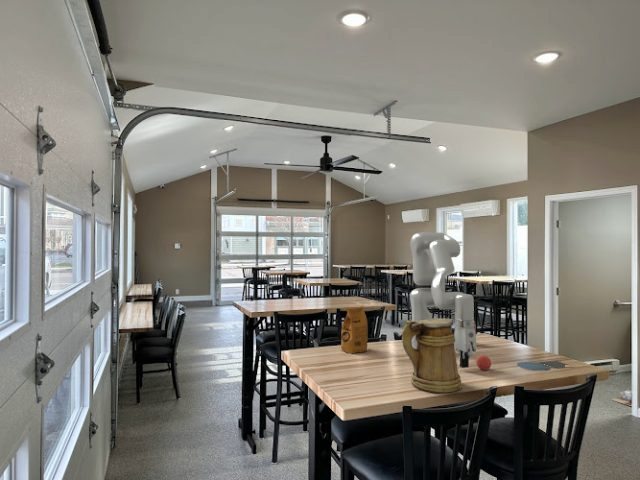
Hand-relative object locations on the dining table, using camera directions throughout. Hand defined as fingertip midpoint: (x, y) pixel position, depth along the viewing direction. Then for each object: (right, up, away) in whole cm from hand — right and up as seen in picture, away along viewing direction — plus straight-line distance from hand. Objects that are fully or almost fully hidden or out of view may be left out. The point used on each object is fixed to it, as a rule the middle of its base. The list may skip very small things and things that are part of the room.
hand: (464, 367), depth 177 cm
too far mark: (+45, -2, +11) cm, 46 cm away
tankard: (-19, -2, -19) cm, 27 cm away
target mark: (+33, -2, +8) cm, 35 cm away
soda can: (+19, -3, +47) cm, 51 cm away
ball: (+9, +1, +2) cm, 10 cm away
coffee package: (-44, -2, +33) cm, 55 cm away
